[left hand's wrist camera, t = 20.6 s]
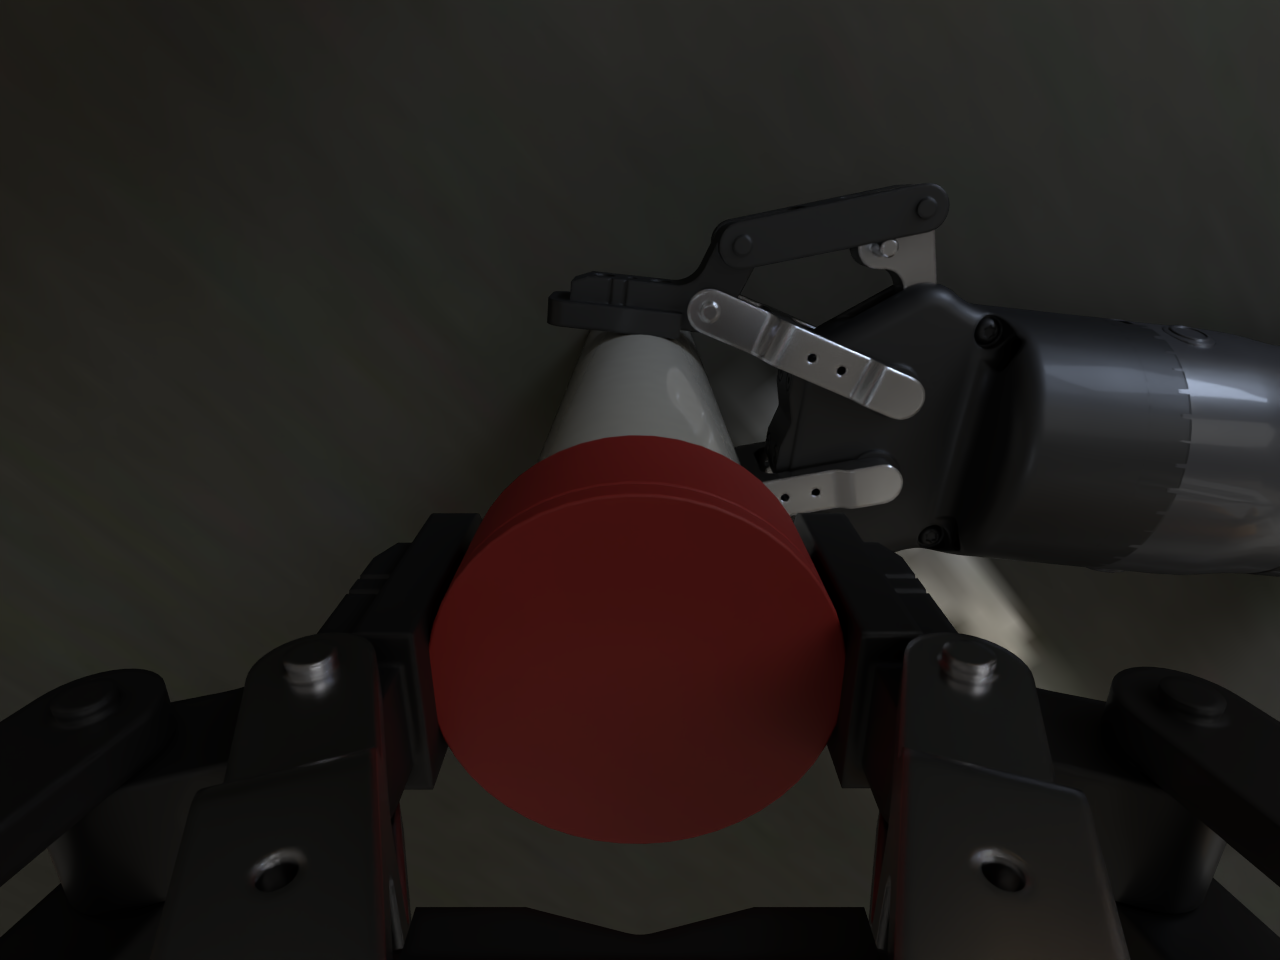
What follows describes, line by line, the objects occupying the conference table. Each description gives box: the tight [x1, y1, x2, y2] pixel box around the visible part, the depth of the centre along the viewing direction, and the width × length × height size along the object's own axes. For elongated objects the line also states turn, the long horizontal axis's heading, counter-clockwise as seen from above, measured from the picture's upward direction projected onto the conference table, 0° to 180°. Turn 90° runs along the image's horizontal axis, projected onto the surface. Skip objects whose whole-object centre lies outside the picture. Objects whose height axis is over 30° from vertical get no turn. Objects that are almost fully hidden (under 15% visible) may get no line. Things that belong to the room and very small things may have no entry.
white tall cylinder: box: [537, 330, 741, 465], centre depth 18 cm, size 4×4×19 cm
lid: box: [429, 435, 846, 844], centre depth 10 cm, size 5×5×2 cm
